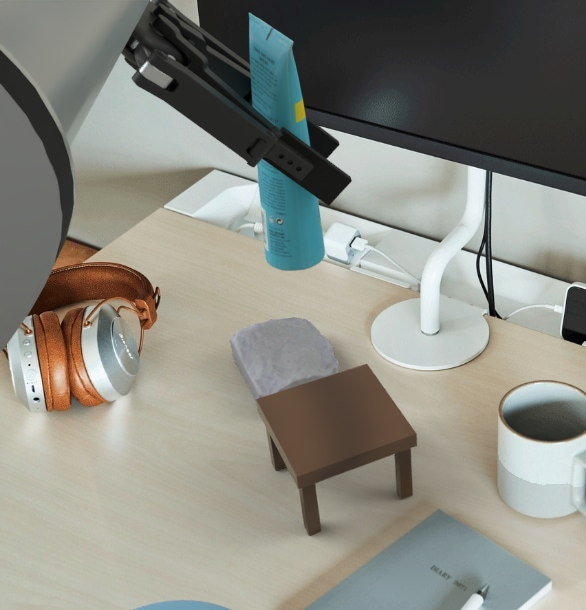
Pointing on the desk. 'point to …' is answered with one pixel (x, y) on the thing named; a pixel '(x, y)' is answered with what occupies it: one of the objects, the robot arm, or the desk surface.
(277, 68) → the tube
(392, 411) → the stool
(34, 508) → the desk surface
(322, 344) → the stone block
